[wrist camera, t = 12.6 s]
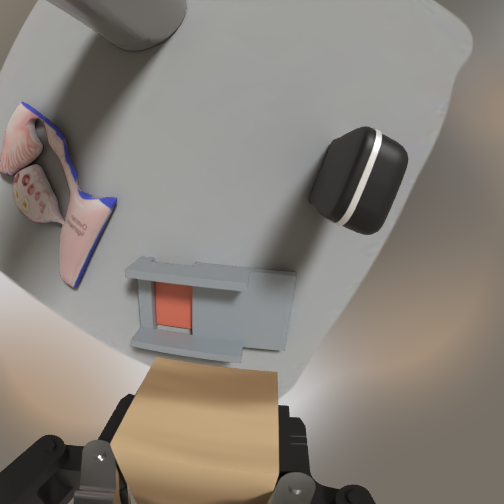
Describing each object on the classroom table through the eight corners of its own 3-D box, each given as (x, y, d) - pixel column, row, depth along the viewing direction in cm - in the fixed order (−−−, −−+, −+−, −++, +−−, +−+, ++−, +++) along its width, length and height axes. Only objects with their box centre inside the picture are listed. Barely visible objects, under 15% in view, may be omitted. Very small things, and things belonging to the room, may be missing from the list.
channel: (141, 256, 31) (124, 269, 27) (295, 272, 30) (299, 288, 26) (145, 327, 33) (131, 346, 29) (284, 344, 32) (286, 367, 28)
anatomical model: (81, 285, 33) (135, 179, 29) (69, 294, 30) (123, 181, 26) (-9, 197, 30) (28, 100, 26) (-23, 200, 27) (14, 97, 24)
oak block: (156, 356, 12) (109, 444, 7) (277, 372, 12) (278, 473, 7) (166, 431, 13) (139, 507, 8) (264, 444, 13) (260, 527, 8)
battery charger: (341, 218, 28) (382, 249, 18) (305, 203, 28) (329, 225, 17) (368, 153, 27) (423, 147, 16) (332, 136, 26) (372, 118, 15)
